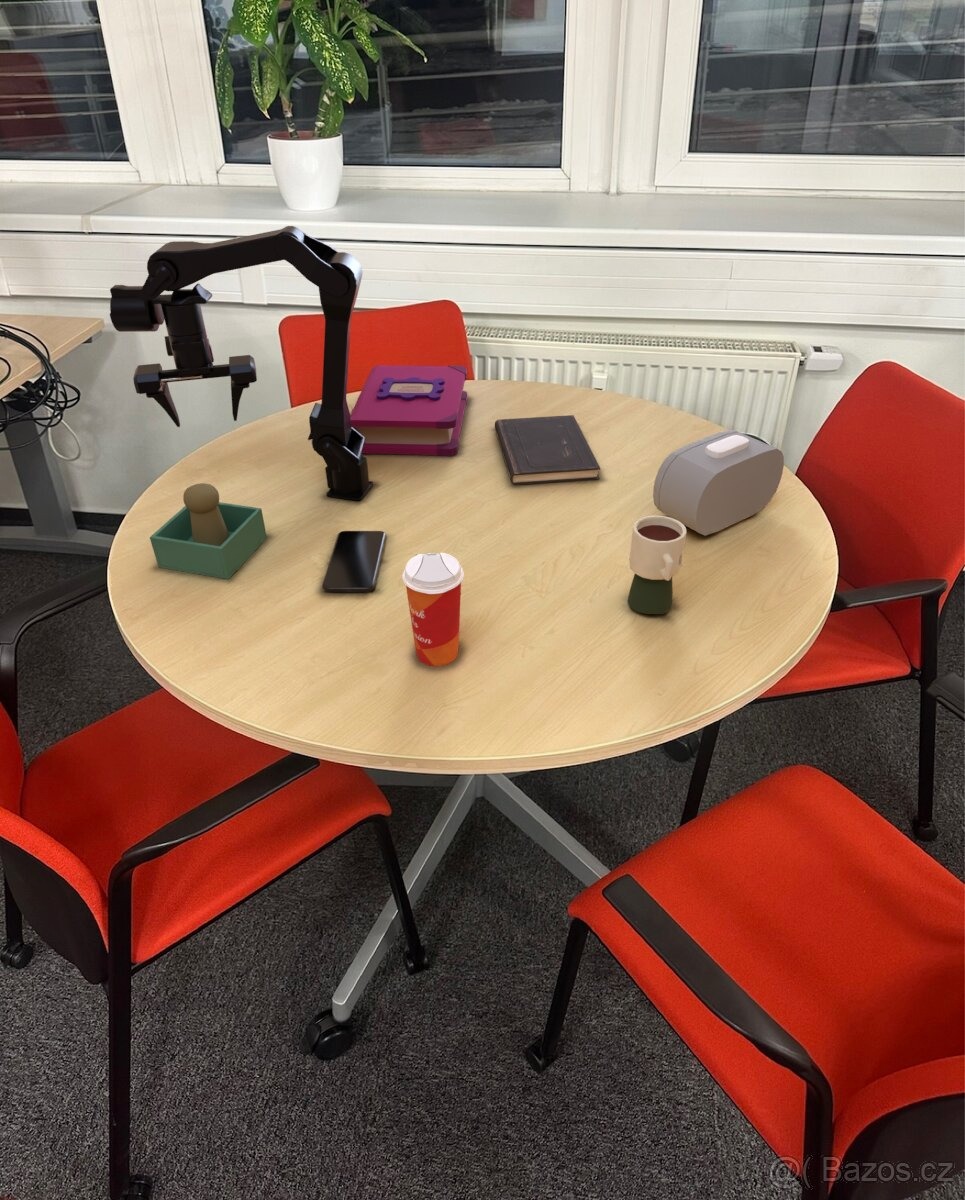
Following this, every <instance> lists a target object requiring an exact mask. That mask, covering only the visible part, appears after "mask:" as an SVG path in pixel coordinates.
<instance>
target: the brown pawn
mask: <svg viewBox="0 0 965 1200" xmlns="http://www.w3.org/2000/svg"><path fill="white" fill-rule="evenodd" d="M182 496H183V499H182V500H183V501H182V502H183V504H184V507H185V506H186V507H187V509H189V510H190V516H191V526H192V536H193V542H196V543H202V544H208V545H214V546H221V545H222V544H223V543H224V542H225V541H226V540H227V539H228V538H229V537H230V536H229V533H228V530H227V528H226V525H225V523H224V520H223V518H222V515H221V513H220V510H219V508H218V503H219V502H220V493H219V491H218V489H217V488H216V487H215V486H214V485H213V484H210V483H205V482H204V483H203V482H200V483H195V484H192V485H190V486H189V487H187V488H186V489H185V490H184V492H183V495H182Z"/></svg>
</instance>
